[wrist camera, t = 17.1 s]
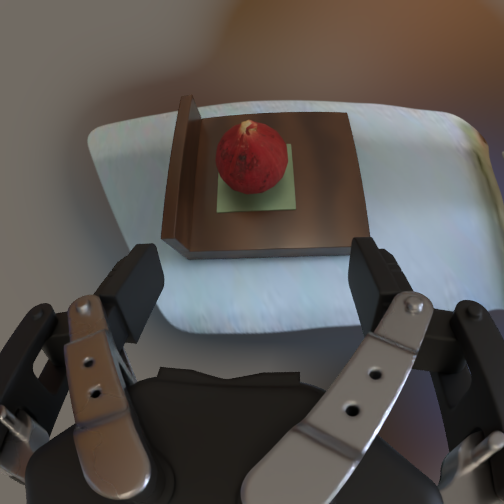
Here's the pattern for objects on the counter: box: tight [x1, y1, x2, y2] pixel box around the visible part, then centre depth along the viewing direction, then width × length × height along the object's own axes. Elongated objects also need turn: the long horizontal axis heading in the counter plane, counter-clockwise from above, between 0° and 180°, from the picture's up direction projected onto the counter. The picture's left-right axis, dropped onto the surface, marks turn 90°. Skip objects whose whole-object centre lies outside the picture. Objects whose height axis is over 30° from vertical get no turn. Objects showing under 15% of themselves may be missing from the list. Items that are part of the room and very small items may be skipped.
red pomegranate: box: [215, 120, 288, 194], centre depth 22 cm, size 6×6×8 cm
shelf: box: [161, 95, 370, 260], centre depth 26 cm, size 17×15×7 cm
